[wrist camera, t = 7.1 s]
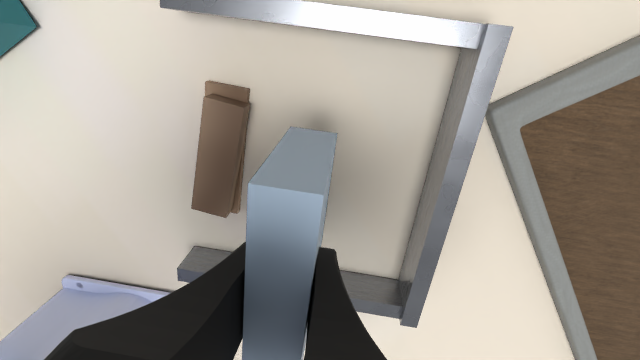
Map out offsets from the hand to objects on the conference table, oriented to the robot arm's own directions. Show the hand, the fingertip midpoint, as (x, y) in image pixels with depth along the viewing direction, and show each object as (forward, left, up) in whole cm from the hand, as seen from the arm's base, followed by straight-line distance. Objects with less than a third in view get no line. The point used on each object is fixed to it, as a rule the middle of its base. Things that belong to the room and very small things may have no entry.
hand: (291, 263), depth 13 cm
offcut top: (-6, +1, -8) cm, 10 cm away
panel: (0, 0, -3) cm, 3 cm away
